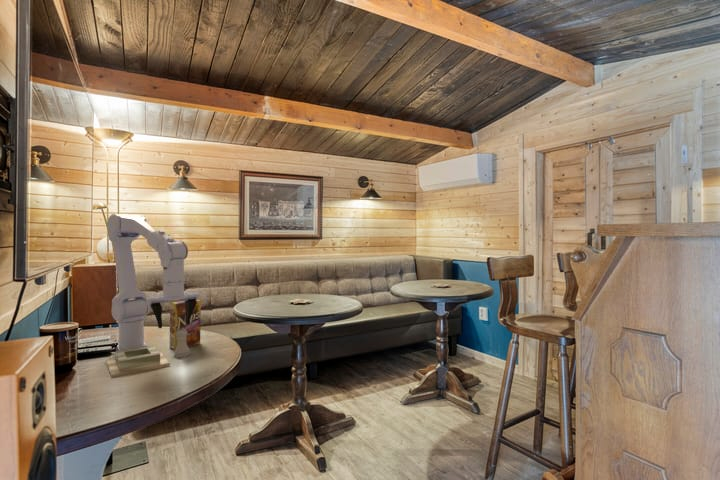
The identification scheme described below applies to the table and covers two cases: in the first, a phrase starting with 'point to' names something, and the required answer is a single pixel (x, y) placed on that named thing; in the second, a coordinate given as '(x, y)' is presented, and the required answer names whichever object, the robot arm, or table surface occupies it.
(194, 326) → the candy box
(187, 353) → the rook chess piece
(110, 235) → the robot arm
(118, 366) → the socket stand
